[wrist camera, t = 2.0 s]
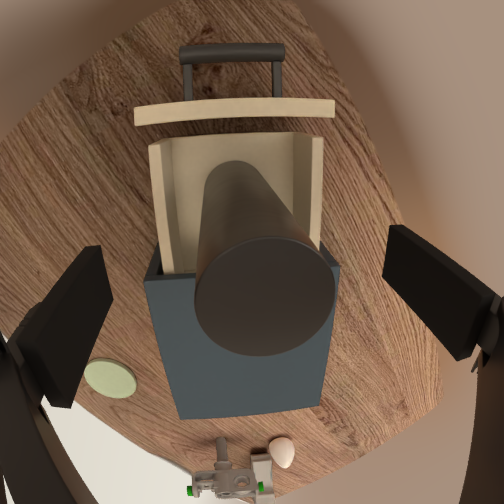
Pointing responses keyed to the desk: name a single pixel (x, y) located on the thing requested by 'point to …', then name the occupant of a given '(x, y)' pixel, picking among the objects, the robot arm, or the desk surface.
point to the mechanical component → (225, 478)
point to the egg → (282, 451)
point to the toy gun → (263, 477)
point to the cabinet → (229, 357)
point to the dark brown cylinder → (256, 268)
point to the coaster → (110, 378)
